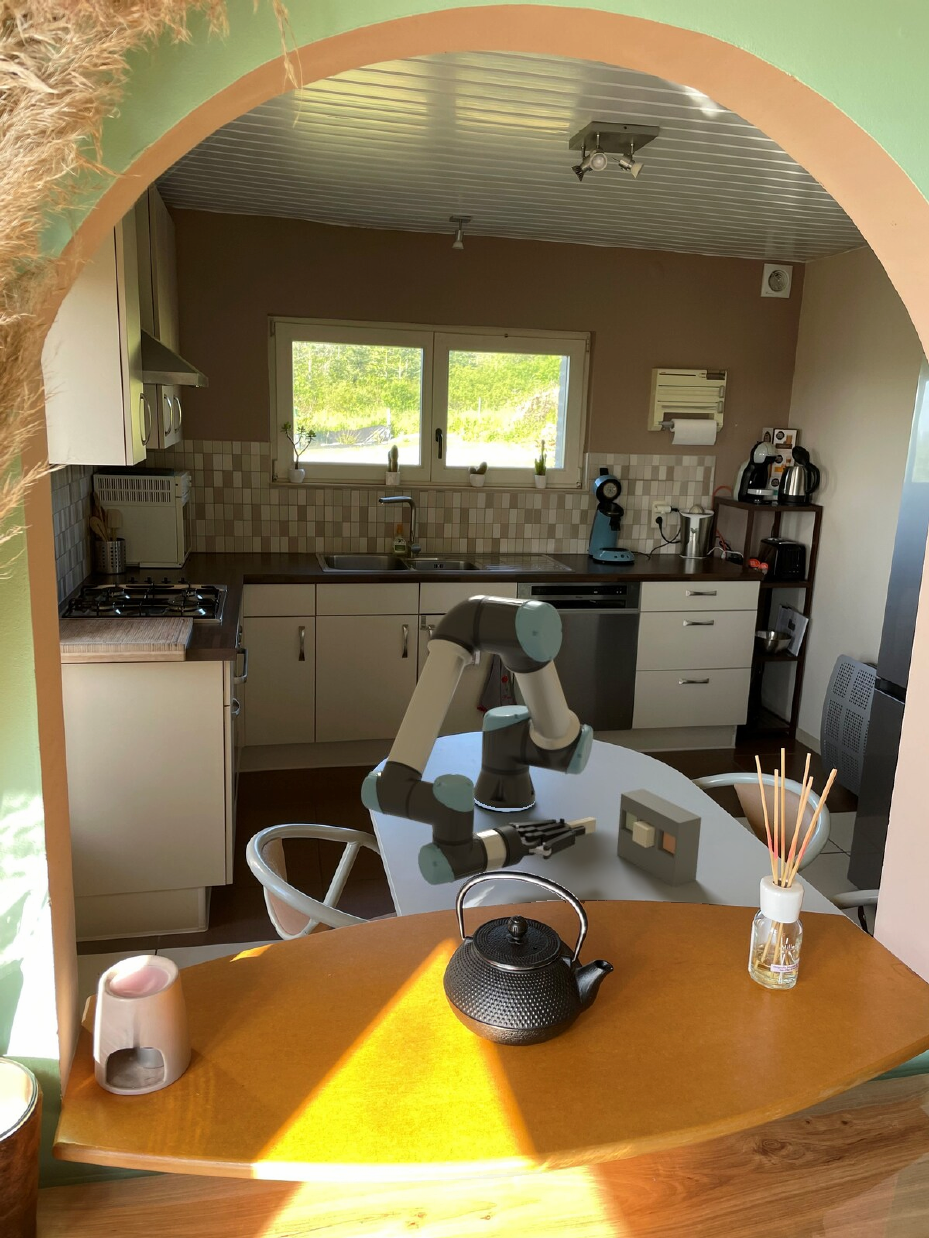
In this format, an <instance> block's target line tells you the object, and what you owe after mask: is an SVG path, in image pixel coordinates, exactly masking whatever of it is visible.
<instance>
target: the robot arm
mask: <svg viewBox="0 0 929 1238" xmlns="http://www.w3.org/2000/svg"><path fill="white" fill-rule="evenodd" d="M562 624H563V623H562V620H561V616H560V614H559V612H558V610H557V609H556V607H554V605H552V604H550V603H548V602H543V601H539V600H537V599H527V598H526V599H525V598H515V597H505V596H497V595H495V596H494V595H490V594H477V595H472V596H468V597H467V598H465V599H463V600H461V601H459V602H458V603H456V604H454V606H452V608H450V609H449V610H448V611H447V612H446V613H445V614H444V615H443V617H442V618H441V619H440V621H439V622H438V623H437V624H436V625H435V627H434V629H433V630H432V633H431V635H430V637H429V640H428V642H427V646H426V647H427V649H428V651H429V653H428V656H427V658H426V661H425V664H424V665H423V669H422V671H421V674H420V677H419V678H418V680H417V684H416V687H415V689H414V691H413V694H412V696H411V699H410V701H409V704H408V707H407V709H406V710H405V711H406V712H405V715H404V716H403V720H402V722H401V723H400V727H399V728H398V729H399V730H398V732H397V734H396V737H395V740H394V742H393V744H392V747H391V749H390V752H389V754H388V757H387V760H386V762H385V764H384V766H383V769H382V770H381V769H380V770H373V771H370V772H369V773H368V775H367V776H366V777H365V778H364V780H363V782H362V786H361V801H362V804H363V805H364V807H365V808H366V809H368V810H370V811H374V812H377V813H380V814H382V815H385V816H392V817H396V818H402V819H405V820H410V821H412V822H413V821H414V822H417V823H422V824H426V825H429V826H431V828H432V834H431V835H432V836H431V837H432V838H431V842H428V843H427V844H424V845H422V846H421V847H420V848H419V852H418V855H417V861H418V863H417V864H418V869H419V872H420V874H421V875H422V878H423V880H424V881H425V882H427V883H428V884H430V885H431V886H437V885H439V886H440V885H443V884H448V883H449V884H453V883H454V882H457V881H459V880H463V879H465V878H466V879H467V878H469V877H473V876H477V875H480V874H479V873H481V874H482V873H483V872H485V873H488V872H487V871H489V872H492V871H495V870H500V869H504V868H508V867H509V868H510V867H512V866H515V865H518V864H519V863H521V861H522V860H523V858H525V857H526V856H527V857H528V856H535V855H536V854H537V855H542V859H543V860H549V859H550V858H551V857H552V856H553V855H555V854H557V853H559V852H561V851H564V850H566V849H568V848H570V847H572V846H574V845H575V844H576V837H580V836H584V835H588V834H591V833H595V832H596V828H597V819H596V818H594V817H593V816H589V817H584V818H583V817H582V818H580V819H576V820H572V821H568V822H566V821H565V819H564V818H559V822H557V820H556V819H553V818H552V819H544V820H537V821H536V820H534V821H526V822H509V823H508V824H509V825H508V824H507V825H502V826H499V827H494V828H492V829H491V828H490V829H485V830H482V831H477V832H474V825H475V823H474V822H475V808H476V804H475V800H474V798H475V799H476V800H477V801H479V802H480V803H482V804H485V805H487V806H491V807H495V808H523V807H527V806H529V805H531V804H533V803H534V801H535V802H536V791H535V787H534V783H533V780H532V776H531V772H530V768H531V767H534V768H539V769H544V770H549V771H555V772H560V773H564V774H565V775H568V774H570V775H575V776H577V775H580V774H581V773H583V771H584V770H585V769H586V767H587V764H588V761H589V759H590V756H591V752H592V747H593V743H594V742H593V741H594V729H593V728H592V726H590V725H587V724H581V723H580V720H579V718H578V716H577V715H576V713H575V712H573V710H570V709H569V706H568V704H567V701H566V697H565V695H564V694H565V693H564V691H563V688H562V684H561V681H560V678H559V675H558V671H557V669H556V666H555V665H556V664H555V662H554V659H555V658H556V657H557V655H558V653H559V652H560V648H561V645H562V641H563V640H562V639H563V632H562V629H563V625H562ZM478 652H481V653H489V654H494V655H498V656H499V657H500V659H501V662H502V664H503V666H504V667H505V668H506V670H508V671H510V672H511V673H513V674H514V675H515V679H516V682H517V684H518V687H519V690H520V693H521V695H522V698H523V701H524V703H525V705H503V706H498V707H494V708H492V709H489V710H488V711H487V712H485V714H484V716H483V722H482V728H481V731H482V733H481V738H482V739H481V768H480V771H479V774H478V776H477V780H476V782H475V783H474V782H473V780H472V779H470V777H467V776H466V775H463V774H458V773H456V774H452V773H447V774H442V775H439V776H437V777H436V778H435V779H434V781H433V782H430V781H426V780H422V778H423V775H424V773H425V770H426V767H427V765H428V762H429V759H430V758H431V754H432V752H433V750H434V747H435V744H436V741H437V739H438V736H439V733H440V732H441V731H440V730H441V728H442V725H443V724H444V723H443V722H444V720H445V718H446V715H447V713H448V710H449V708H450V705H451V703H452V700H453V697H454V694H455V692H456V690H457V687H458V684H459V681H460V679H461V676H462V673H463V671H464V668H465V666H468V665H471V663H472V661H473V659H474V656H475V654H477V653H478ZM474 785H475V786H474Z"/></svg>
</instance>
